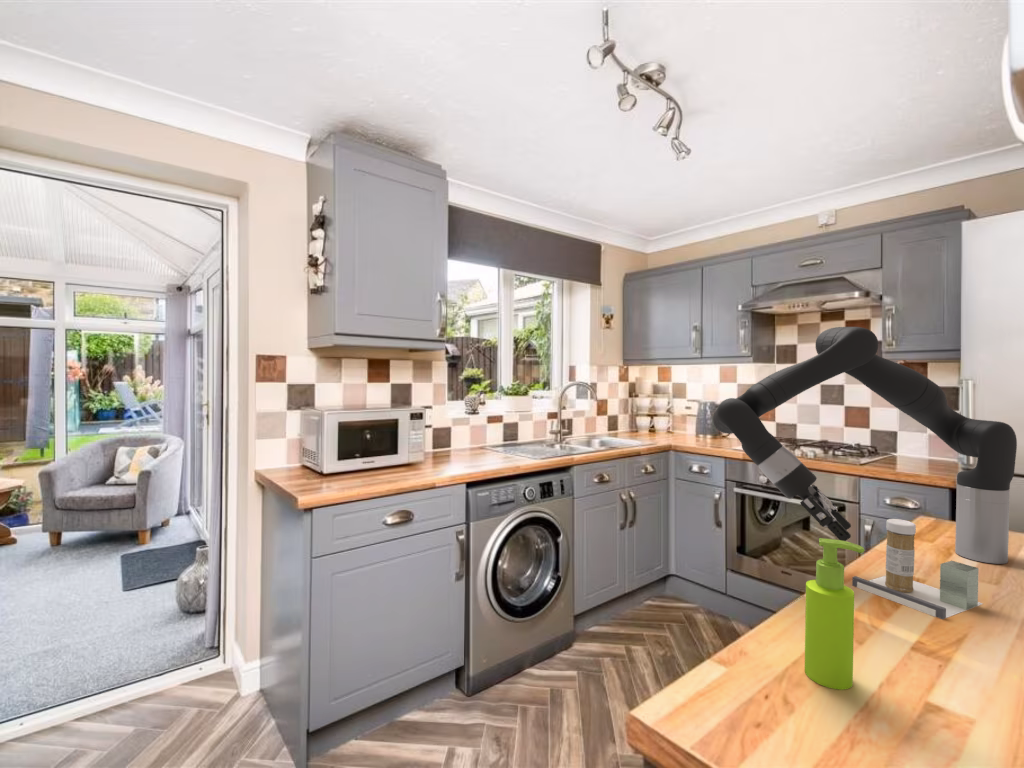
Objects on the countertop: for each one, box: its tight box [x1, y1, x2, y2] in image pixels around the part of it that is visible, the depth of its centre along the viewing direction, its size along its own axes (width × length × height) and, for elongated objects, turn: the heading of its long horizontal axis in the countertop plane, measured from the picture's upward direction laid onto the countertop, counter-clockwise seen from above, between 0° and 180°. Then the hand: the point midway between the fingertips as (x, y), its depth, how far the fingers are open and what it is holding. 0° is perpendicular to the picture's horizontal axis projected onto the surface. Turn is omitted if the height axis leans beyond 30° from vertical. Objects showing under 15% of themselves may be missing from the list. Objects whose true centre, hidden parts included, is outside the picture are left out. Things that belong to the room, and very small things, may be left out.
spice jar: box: [885, 518, 917, 593], centre depth 97 cm, size 5×5×14 cm
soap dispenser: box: [804, 537, 865, 691], centre depth 71 cm, size 6×7×20 cm
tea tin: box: [939, 560, 980, 611], centre depth 91 cm, size 4×4×7 cm
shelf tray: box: [851, 575, 984, 620], centre depth 95 cm, size 14×15×3 cm
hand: (847, 533), depth 102 cm, fingers open, 8 cm apart
